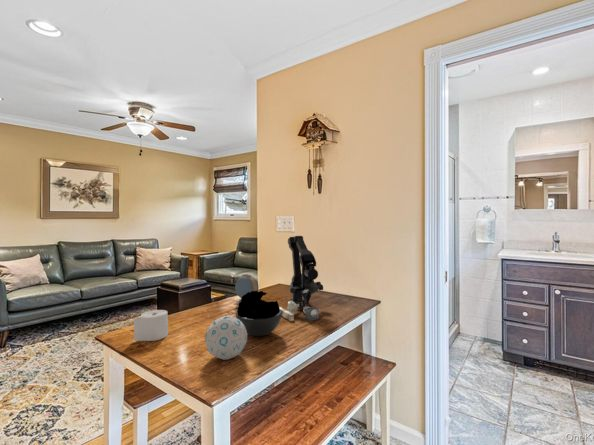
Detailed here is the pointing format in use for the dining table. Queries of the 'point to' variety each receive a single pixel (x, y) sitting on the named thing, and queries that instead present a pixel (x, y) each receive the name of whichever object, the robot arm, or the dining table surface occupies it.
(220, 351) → the puzzle ball
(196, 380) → the dining table surface
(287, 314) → the fence
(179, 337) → the dining table surface
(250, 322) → the bowl of black rocks
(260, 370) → the dining table surface
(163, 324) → the toilet tissue
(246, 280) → the alarm clock
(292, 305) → the valve
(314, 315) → the pipe stand
